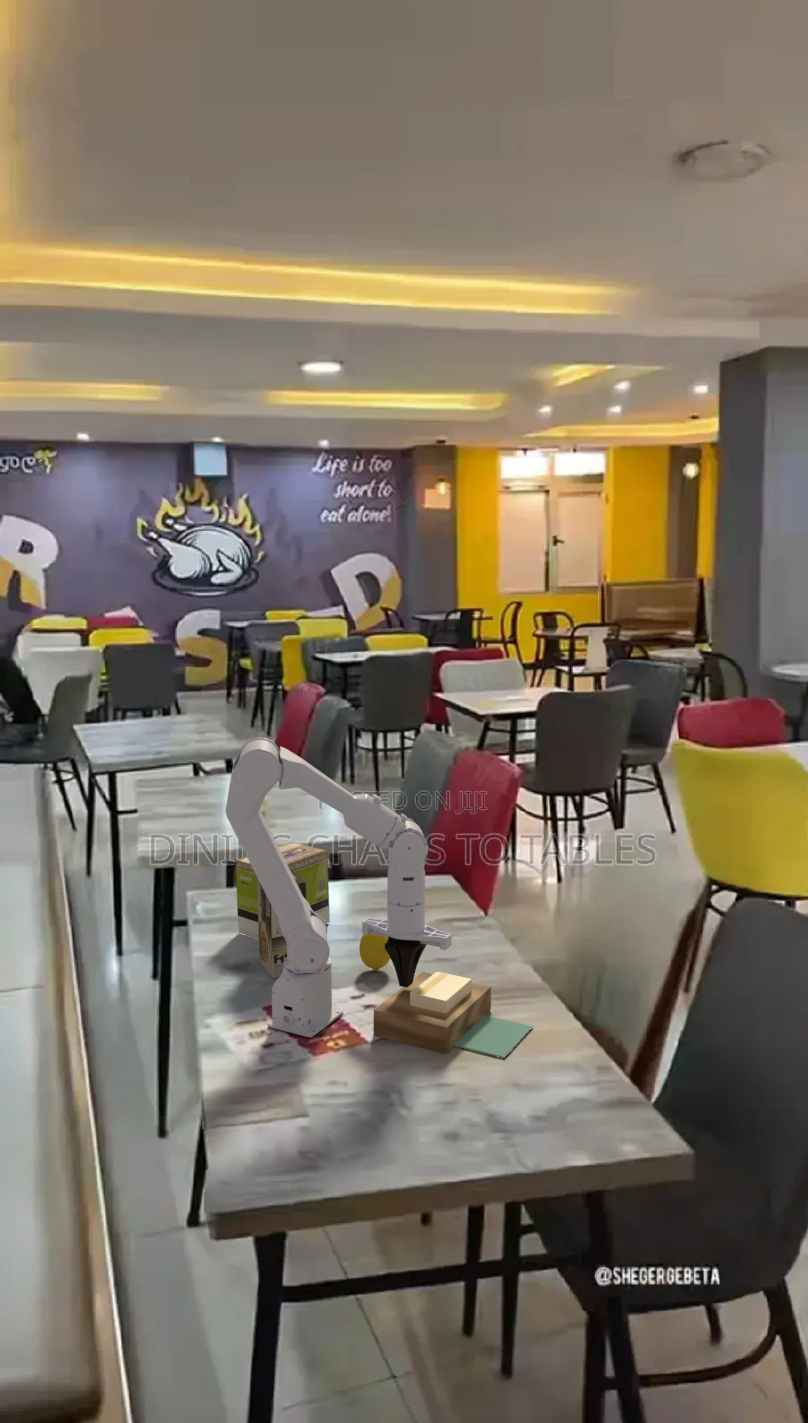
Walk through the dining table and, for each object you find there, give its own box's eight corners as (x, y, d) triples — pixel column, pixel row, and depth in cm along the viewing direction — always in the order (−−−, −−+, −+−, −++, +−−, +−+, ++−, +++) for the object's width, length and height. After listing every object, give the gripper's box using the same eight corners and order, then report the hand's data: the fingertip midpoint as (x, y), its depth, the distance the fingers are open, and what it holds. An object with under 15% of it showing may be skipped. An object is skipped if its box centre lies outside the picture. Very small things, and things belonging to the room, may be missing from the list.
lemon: (378, 980, 180) (378, 934, 179) (353, 971, 183) (352, 927, 182) (398, 969, 184) (398, 925, 183) (373, 961, 188) (373, 918, 186)
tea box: (293, 912, 212) (292, 839, 210) (330, 924, 206) (330, 849, 204) (236, 934, 201) (234, 857, 198) (273, 947, 195) (272, 868, 192)
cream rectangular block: (446, 1013, 159) (446, 1000, 158) (410, 1005, 161) (410, 992, 161) (471, 991, 166) (471, 978, 166) (436, 983, 169) (436, 971, 169)
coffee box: (308, 973, 183) (307, 882, 180) (271, 979, 180) (269, 886, 178) (293, 954, 191) (292, 866, 188) (258, 959, 189) (256, 870, 186)
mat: (504, 1058, 153) (504, 1056, 153) (453, 1046, 157) (453, 1044, 157) (532, 1028, 163) (532, 1026, 163) (484, 1016, 167) (484, 1014, 167)
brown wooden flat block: (446, 1053, 155) (446, 1027, 154) (373, 1035, 160) (373, 1009, 160) (490, 1010, 169) (491, 986, 168) (422, 995, 174) (422, 971, 174)
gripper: (460, 899, 164) (459, 983, 167) (377, 885, 171) (377, 966, 173) (440, 914, 158) (439, 1001, 161) (355, 898, 165) (355, 982, 167)
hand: (406, 984), depth 167 cm, fingers closed
